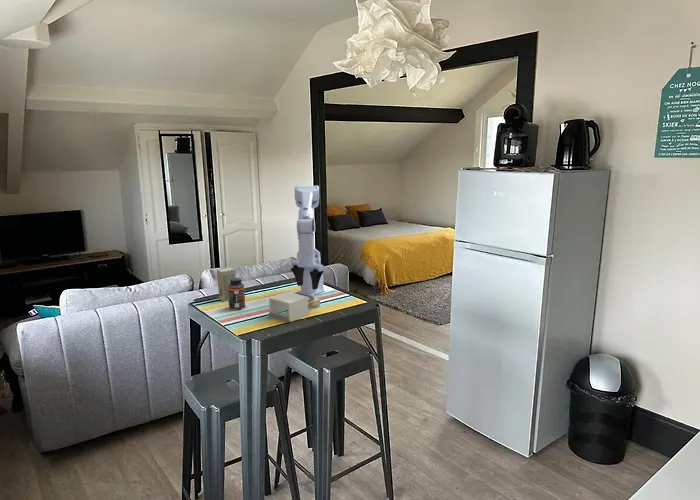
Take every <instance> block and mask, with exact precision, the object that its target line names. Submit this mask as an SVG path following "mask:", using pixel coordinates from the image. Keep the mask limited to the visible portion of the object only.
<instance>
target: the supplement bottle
mask: <svg viewBox="0 0 700 500" xmlns="http://www.w3.org/2000/svg"><path fill="white" fill-rule="evenodd" d="M230 283H231V284H230V285H229V286H228V295H229V300H228V308H229V309H230V310H232V311H233V310H234V311H240V310H242V309H244V308H246V297H245V296H246V295H245V294H246V293H245V284H243V281H242V278H240V277H236V278H232V279H230Z"/></svg>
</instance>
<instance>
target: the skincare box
mask: <svg viewBox="0 0 700 500" xmlns="http://www.w3.org/2000/svg"><path fill="white" fill-rule="evenodd" d="M236 274H237V273H236V269H235V268H233V267H225V268H221V269H217V270H216V275H217V288H218V299H219V300H221V301H222V302H227V301H228V302H229V295H228V286H229V285H230V284H231V283H230V279H232V278H237V275H236Z"/></svg>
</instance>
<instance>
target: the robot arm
mask: <svg viewBox="0 0 700 500" xmlns="http://www.w3.org/2000/svg"><path fill="white" fill-rule="evenodd" d="M294 200H295V205H296V207H297V208H299V209H298V216H297V217H298V220H296V233H297V234H296V235H297V240H298V251H297V252H296V259H294V260H291V261H290V265H291V267H290V271H291V272H292V274H293V275H294V278H295V280H296V285H297V286H298V287H300V290H297V291H295V294H299V295H303V296H307V297H309V295H311V294H313V295H314V296H315V295H317V294H320V293H323V292H326V289H324V275H323V274H324V272H325V271H324V265H323V264H322V263H321V252H320V251H319V250H317V248H315V233H316V221H315V208H317V207H319V204H320V186H319V185H295V187H294Z"/></svg>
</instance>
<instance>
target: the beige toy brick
mask: <svg viewBox="0 0 700 500" xmlns="http://www.w3.org/2000/svg"><path fill="white" fill-rule="evenodd" d="M319 307H321V299H320V298H317V297H315V294H314V295H313V294H311V295H309V296H308V312H309V311H311V310H313V309H316V308H319Z"/></svg>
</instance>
